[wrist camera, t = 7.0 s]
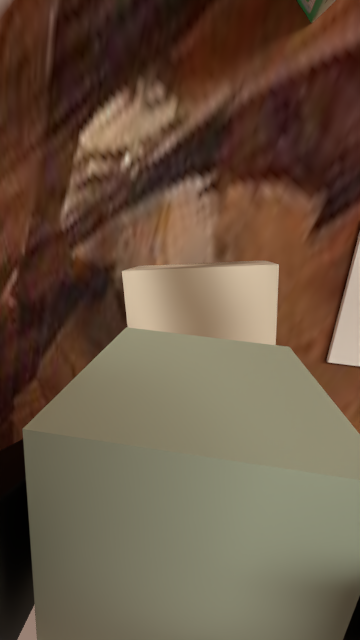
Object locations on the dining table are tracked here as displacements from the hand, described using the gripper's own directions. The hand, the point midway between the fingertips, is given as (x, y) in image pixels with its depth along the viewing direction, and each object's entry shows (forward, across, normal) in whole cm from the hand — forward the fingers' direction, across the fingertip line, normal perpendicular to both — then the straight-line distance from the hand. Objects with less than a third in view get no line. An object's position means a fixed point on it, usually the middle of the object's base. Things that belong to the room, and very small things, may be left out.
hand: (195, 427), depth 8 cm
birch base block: (+11, 0, 0) cm, 11 cm away
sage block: (+1, 0, 0) cm, 1 cm away
